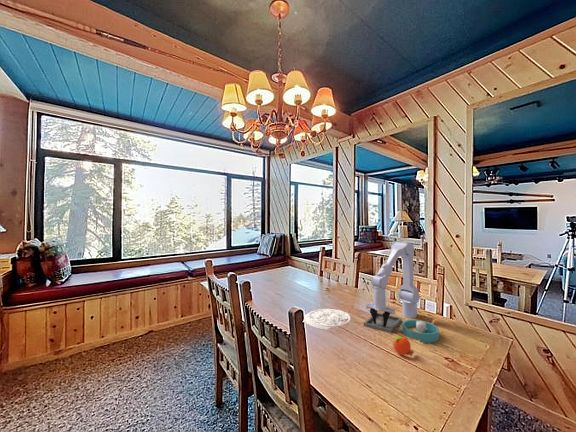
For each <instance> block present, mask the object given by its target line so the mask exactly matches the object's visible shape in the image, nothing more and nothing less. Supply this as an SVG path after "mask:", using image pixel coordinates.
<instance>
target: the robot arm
mask: <svg viewBox="0 0 576 432" xmlns="http://www.w3.org/2000/svg"><path fill="white" fill-rule="evenodd" d="M390 247H391V248H390V249H391V252H390V254H389V256H388V258H387V259H386V262H385V263H382V264H381V267H380V268H379V269H378V272H377V273H376V274H375V275H373V276H372V278H371V281H370V283H371V285H372V289H373V303H374V304H371V303H366V304H365V309H369V313H370V315H371V316H372V317H373V320H374V324H376V317H377V313H378V312H383V313H382V314H383V319H384V326H386V325H387V320H388V317H389V315H390V316H391V315H395V313H396V309H394V308H392V307H391V308H390V307H389V306H387V304H386V299H387V297H386V288H387V286H388V284H389V281H390V279H389V278H390V276H391V274H392V272H393V269H394V268H393V266H394V264H395V263H396V262H397V260H398V259H399V257H402V271H403V272H402V274H403V275H402V276H403V278H402V279H403V280H402V282H403V284H402V285H400V286H399V290H398V296H399V299H401V300H400V301H401V302H402V303H401V304H402V306H401V308H402V309H401V310H402V316H403V317H404V318H407V319H416V318H417V315H418V303H419V302H420V299H421V296H420V291H419V289H418V288H417V286H415V285H414V281H415V280H414V257H415V248H414V247H415V246H414V245H413V243H412V242H404V241H397V240H395V241H394V242H392V245H391V246H390Z"/></svg>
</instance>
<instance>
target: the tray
mask: <svg viewBox="0 0 576 432" xmlns="http://www.w3.org/2000/svg"><path fill="white" fill-rule="evenodd" d="M377 317H383V313H380V312H377ZM401 322H403V321H402V318H401V317H398V316H394V315H391V314H390V315H389V317H388V320H387V325H386V326H385V327H380V326H377V325H376V324H374V320H373V317H372V315H371V316H370V317H369V318H368V319H366V320H365V321H364V322H363V327H366V328H369V329H374V330H377V331H380V332H384V333H388V334H392V333H393V332H394V331H395V330H396V328H397V327H398V326H399V325H400V324H401Z"/></svg>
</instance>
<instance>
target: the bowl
mask: <svg viewBox="0 0 576 432" xmlns="http://www.w3.org/2000/svg"><path fill="white" fill-rule="evenodd" d="M416 321H423V322H425V323H426V332H424V333H423V332H418V331H416V330H412V329H410V328H409V327H411V328H412V327H416ZM401 322H402V323H401V332H402V333H403V334H404V335H405V336H407V337H409V338H411V339H414V340H418V341H419V343H427V344H429V343H436V342H438V341H439V338H440V329H439V328H438V326H437V325H435V324H433V323H432V322H429V321H424V320H421V319H406V320H403V321H401Z"/></svg>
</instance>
